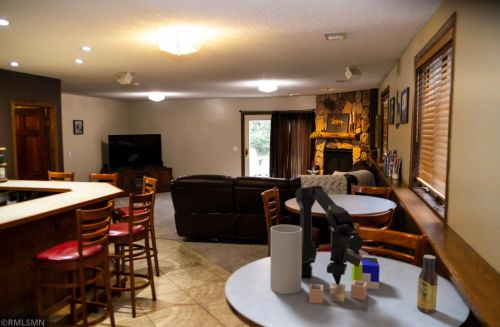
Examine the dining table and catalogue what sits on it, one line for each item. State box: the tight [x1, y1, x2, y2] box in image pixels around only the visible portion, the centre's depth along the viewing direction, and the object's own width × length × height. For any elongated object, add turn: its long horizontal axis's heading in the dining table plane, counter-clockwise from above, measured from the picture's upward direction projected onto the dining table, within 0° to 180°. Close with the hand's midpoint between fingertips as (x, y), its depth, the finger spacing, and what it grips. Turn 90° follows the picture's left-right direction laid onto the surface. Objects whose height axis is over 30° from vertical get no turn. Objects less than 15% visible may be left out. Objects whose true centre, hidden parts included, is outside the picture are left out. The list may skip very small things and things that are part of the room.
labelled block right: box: [350, 280, 368, 300], centre depth 146 cm, size 5×5×5 cm
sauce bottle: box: [416, 254, 439, 314], centre depth 135 cm, size 6×6×20 cm
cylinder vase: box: [269, 224, 302, 295], centre depth 153 cm, size 12×12×25 cm
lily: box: [348, 249, 369, 256], centre depth 187 cm, size 12×12×10 cm
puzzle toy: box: [351, 256, 381, 290], centre depth 159 cm, size 10×10×10 cm
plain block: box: [329, 282, 346, 302], centre depth 144 cm, size 5×5×5 cm
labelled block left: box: [308, 283, 324, 304], centre depth 143 cm, size 5×5×5 cm
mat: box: [304, 287, 370, 313], centre depth 145 cm, size 22×16×1 cm
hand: (337, 284), depth 144 cm, fingers closed
